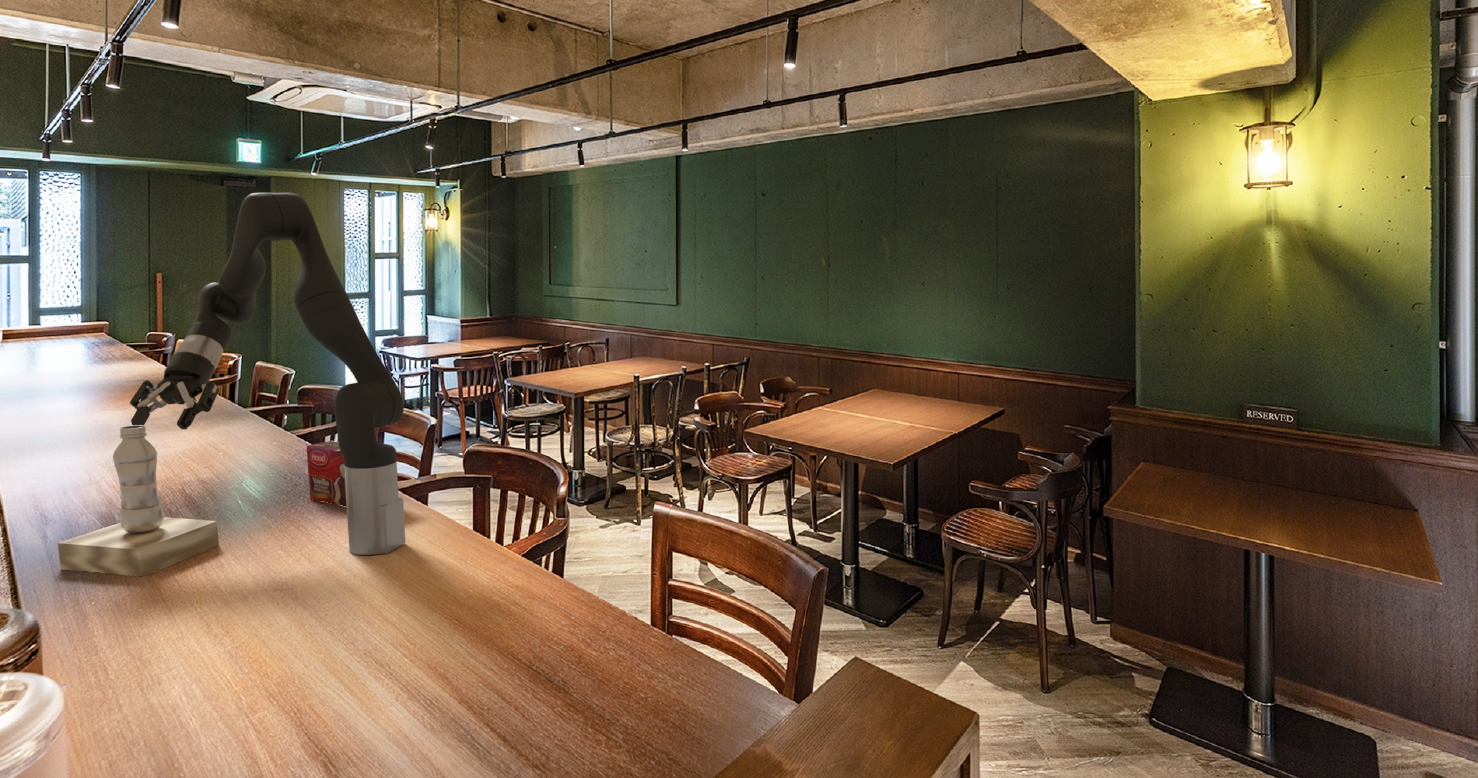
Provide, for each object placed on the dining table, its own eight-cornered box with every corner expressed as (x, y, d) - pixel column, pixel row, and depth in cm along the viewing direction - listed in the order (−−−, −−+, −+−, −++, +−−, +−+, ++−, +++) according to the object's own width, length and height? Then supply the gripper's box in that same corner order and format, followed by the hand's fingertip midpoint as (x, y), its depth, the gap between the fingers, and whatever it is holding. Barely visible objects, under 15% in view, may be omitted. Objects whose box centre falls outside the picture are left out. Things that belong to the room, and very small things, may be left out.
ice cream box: (391, 504, 174) (388, 449, 172) (368, 512, 168) (364, 455, 166) (334, 493, 182) (331, 440, 180) (310, 500, 177) (306, 445, 175)
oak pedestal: (218, 545, 146) (216, 521, 145) (142, 576, 130) (139, 549, 129) (144, 539, 148) (142, 515, 148) (60, 569, 133) (57, 543, 132)
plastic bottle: (140, 538, 135) (129, 431, 132) (111, 534, 136) (99, 429, 134) (174, 527, 141) (164, 424, 138) (146, 524, 143) (135, 422, 140)
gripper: (148, 349, 149) (108, 415, 139) (220, 350, 150) (185, 416, 140) (170, 372, 155) (133, 437, 145) (239, 373, 156) (206, 438, 146)
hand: (158, 427), depth 143 cm, fingers open, 8 cm apart
